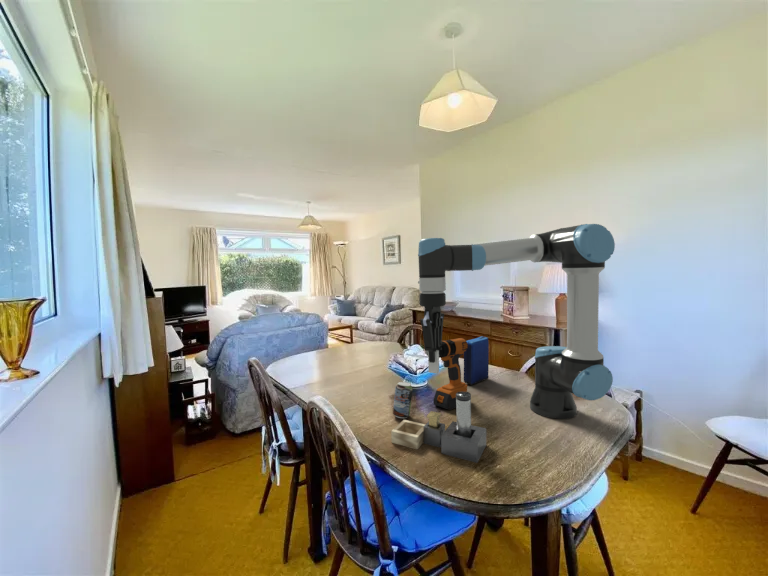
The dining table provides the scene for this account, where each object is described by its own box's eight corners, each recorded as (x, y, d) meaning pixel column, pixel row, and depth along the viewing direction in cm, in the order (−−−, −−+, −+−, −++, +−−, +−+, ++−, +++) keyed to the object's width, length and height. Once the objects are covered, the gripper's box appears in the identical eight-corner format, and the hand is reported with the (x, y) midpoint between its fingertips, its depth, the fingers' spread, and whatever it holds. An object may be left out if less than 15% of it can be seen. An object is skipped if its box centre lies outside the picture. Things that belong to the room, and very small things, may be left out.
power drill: (435, 417, 120) (434, 347, 119) (420, 410, 126) (419, 343, 124) (473, 400, 134) (472, 337, 132) (458, 395, 140) (457, 335, 138)
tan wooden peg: (441, 438, 102) (441, 413, 102) (437, 443, 100) (437, 417, 99) (431, 436, 104) (431, 411, 103) (427, 440, 101) (427, 415, 101)
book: (481, 376, 162) (480, 334, 161) (490, 379, 158) (490, 336, 156) (462, 384, 153) (462, 339, 151) (472, 387, 149) (472, 341, 147)
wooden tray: (428, 439, 105) (428, 425, 105) (417, 452, 98) (417, 437, 98) (404, 433, 109) (403, 419, 109) (391, 445, 102) (391, 431, 102)
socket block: (486, 448, 99) (486, 428, 99) (477, 466, 91) (477, 444, 90) (432, 435, 107) (432, 417, 107) (420, 450, 99) (419, 430, 98)
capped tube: (473, 447, 98) (472, 392, 97) (469, 454, 94) (468, 397, 93) (459, 444, 100) (458, 390, 99) (455, 450, 97) (453, 395, 95)
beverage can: (389, 417, 121) (388, 384, 120) (403, 410, 126) (402, 378, 126) (402, 422, 117) (401, 388, 116) (416, 415, 122) (415, 382, 121)
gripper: (428, 290, 106) (430, 364, 108) (410, 293, 95) (412, 377, 97) (452, 290, 103) (453, 367, 104) (436, 294, 91) (437, 380, 93)
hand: (433, 372), depth 100 cm, fingers closed
